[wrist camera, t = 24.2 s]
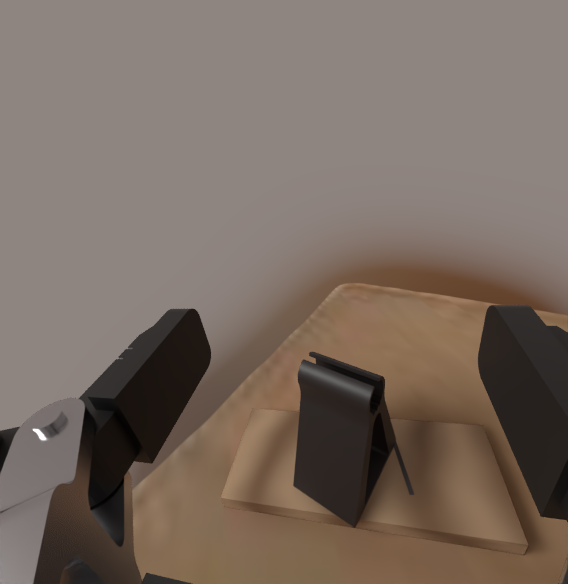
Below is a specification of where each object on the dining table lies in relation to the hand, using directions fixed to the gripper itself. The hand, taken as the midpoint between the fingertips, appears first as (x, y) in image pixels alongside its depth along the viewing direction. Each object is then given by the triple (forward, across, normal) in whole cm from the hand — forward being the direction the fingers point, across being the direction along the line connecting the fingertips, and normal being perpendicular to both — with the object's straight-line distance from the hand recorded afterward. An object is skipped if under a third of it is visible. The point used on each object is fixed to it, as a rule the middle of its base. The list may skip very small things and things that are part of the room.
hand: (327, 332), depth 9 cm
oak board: (+11, 0, +25) cm, 27 cm away
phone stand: (+11, +1, +24) cm, 26 cm away
